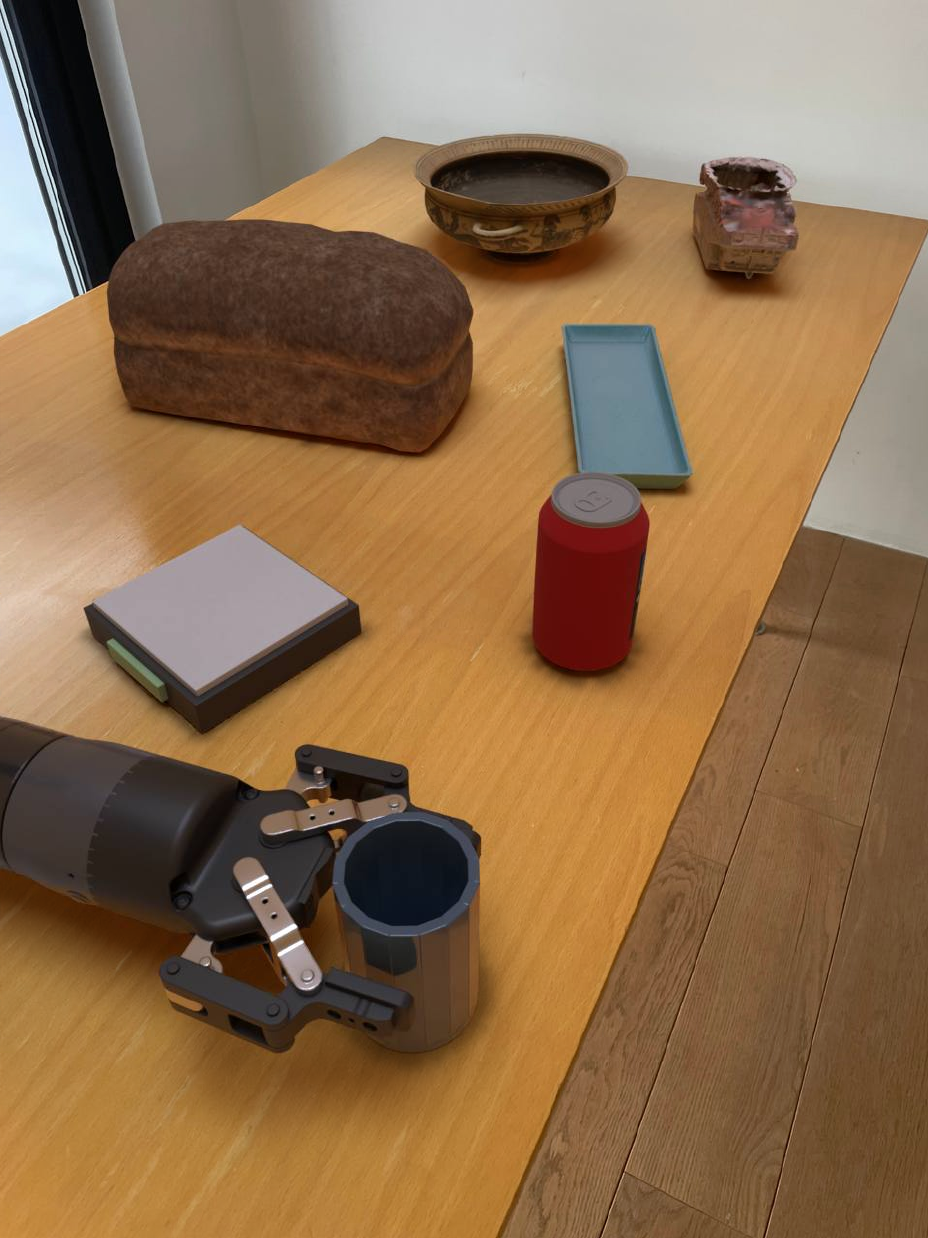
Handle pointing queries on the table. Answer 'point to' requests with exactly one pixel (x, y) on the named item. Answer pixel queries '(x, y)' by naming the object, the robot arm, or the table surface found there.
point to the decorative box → (745, 215)
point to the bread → (292, 330)
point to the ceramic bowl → (520, 192)
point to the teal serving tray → (623, 405)
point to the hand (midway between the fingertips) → (448, 927)
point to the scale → (221, 625)
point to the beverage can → (589, 570)
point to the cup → (413, 920)
